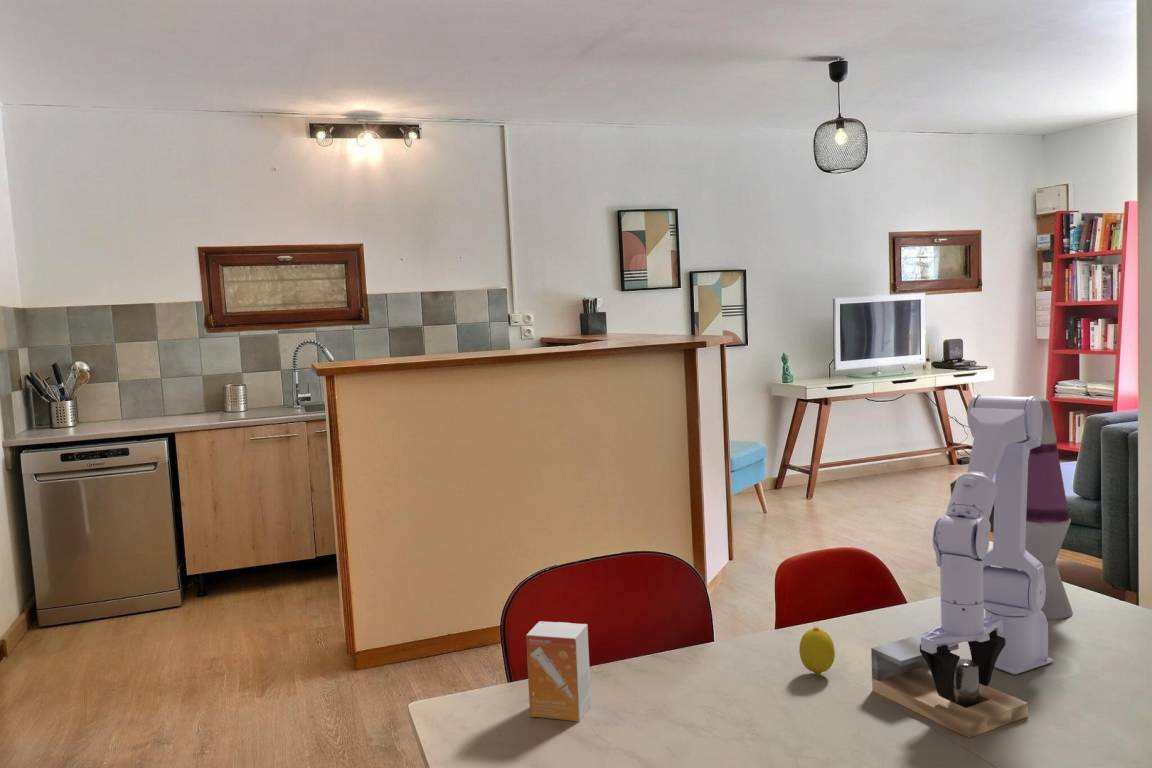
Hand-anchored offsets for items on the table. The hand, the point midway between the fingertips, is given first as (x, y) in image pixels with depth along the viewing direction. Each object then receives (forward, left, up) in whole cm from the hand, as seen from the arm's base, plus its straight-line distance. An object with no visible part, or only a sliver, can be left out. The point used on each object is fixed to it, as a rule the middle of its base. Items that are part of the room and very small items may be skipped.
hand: (963, 689), depth 131 cm
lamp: (-45, -21, -3) cm, 50 cm away
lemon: (+9, -21, -3) cm, 23 cm away
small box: (+50, -32, -3) cm, 59 cm away
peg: (0, 0, -3) cm, 3 cm away
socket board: (0, -3, -3) cm, 4 cm away
